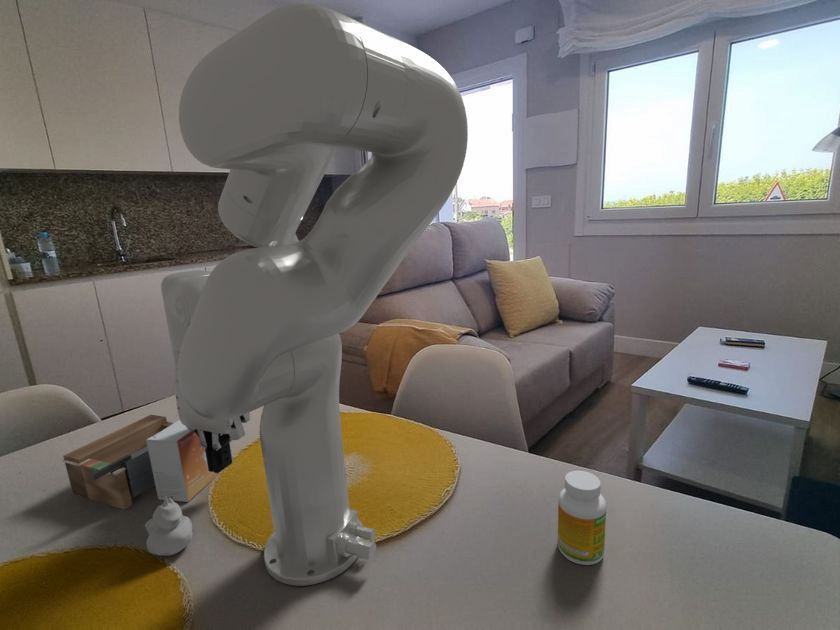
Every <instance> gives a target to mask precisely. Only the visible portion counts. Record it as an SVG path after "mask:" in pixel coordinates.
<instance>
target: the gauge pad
mask: <svg viewBox="0 0 840 630" xmlns="http://www.w3.org/2000/svg"><path fill="white" fill-rule="evenodd" d="M120 466H123V467H125V468H126V469H125V475H126V479H127V483H128V488H129V492H130V496H131V498H134V497H137V496H138V495H140V494H141V493H143V492H144V491H146V490H148V489H149V488H151V487H153V486H154V485H155V481H154V476H153V471H152V466H151V461H150V457H149V452H148V447H145V448H143V449H141V450H139V451H137V452H135V453H134V454H132V455H126V456H124V457H122V458H121V459H119V460H117V461H115V462H113V463H111V464H109V465H107V466H105V467H104V468H102V469H100V470H98V471H96V472H94V473H92V474H90V477H91V480H96V479H98V478H100V477H102V476H103V475H105V474H107V473H109V472H111V471H113V470H114V469H116V468H118V467H120Z"/></svg>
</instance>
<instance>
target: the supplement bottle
mask: <svg viewBox="0 0 840 630" xmlns="http://www.w3.org/2000/svg"><path fill="white" fill-rule="evenodd" d="M601 483H602V482H601V480H600V479H599V477H597V476H596V475H595V474H593V473H591V472H589V471H586V470H585V471H584V470H572V471H569V472H567V473H566V474H565V476H564V488H563V489H562V490H561V491H560V493H559V495H558V507H557V510H558V511H557V513H558V514H557V547H558V549H559V552H560V553H561V554H562V555H563V556H564V558H566V559H567V560H568V561H570V562H573V563H575V564H577V565H583V566H590V565H595V564H598V563H599V562H600V561H602V559H603V558H604V556H605V555H604V554H605V540H606V538H605V537H606V523H607V521H606V520H607V502H606V499H605V497H604V496H603V494H601V489H602V488H601Z"/></svg>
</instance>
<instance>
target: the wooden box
mask: <svg viewBox="0 0 840 630" xmlns="http://www.w3.org/2000/svg"><path fill="white" fill-rule="evenodd" d="M173 423H174V422H171V421H168V419H167V416H163V415H156V414H149V415H147V416H144V417H143V418H140V419H139V420H136V421H134V422H132V423H130V424H128V425H126V426H124V427H122V428H120V429H119V428H118V429H117V430H115V431H113V432H111V433H108V434H106V435H103V436H102V437H99V438H97V439H96V440H94V441H92V442H89V443H87V444H85V445H83V446H81V447H78V448H77V449H74V450H72V451H70V452H68V453H65V454H64V455H62V458H63V459H62V463H64V465H65V469H66V472H67V476H68V479H69V485H70V488H71V491H72V495H74V496H78V497H80V498H81V497H82V498H85V499H88V500H92V501H95V502H99V503H102V504H105V505H109V506H112V507H116V508H118V509H123V510H126V509H127V508H130V507H131V506H133V502H132V497H131V496H130V492H129V488H128V483H127V479H126V475H125V469H126V468H125V467H123V466H120V467H118V468H116V469H114V470H113V471H111V472H109V473H107V474H105V475H103V476H102V477H100V478H98V479H96V480H91V477H90V474H92V473H94V472H96V471H98V470H100V469H102V468H104V467H105V466H107V465H109V464H111V463H113V462H115V461H117V460H119V459H121V458H122V457H124V456H126V455H132V454H134V453H135V452H137V451H139V450H141V449H143V448H145V447H147V442H146V440H147V439H148V438H150V437H152V436H154V435H156V434H157V433H159V432H161V431H162V430H164V429H165V428H167V427H169V426H170V425H172V424H173Z"/></svg>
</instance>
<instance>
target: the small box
mask: <svg viewBox="0 0 840 630" xmlns="http://www.w3.org/2000/svg"><path fill="white" fill-rule="evenodd" d="M172 423H173V424H172V425H170V426H169V427H167V428H165V429H164V430H162V431H161V432H159V433H157V434H156V435H154V436H152V437H150V438H148V439H147V440H146V442H147V447H148V452H149V457H150V461H151V466H152V471H153V476H154V481H155V484H154V485H155V490H156V494H157V499H158V500H160V501H164V499H165V497H167V500H168V499H169V498H171V499H172V500H173V501H174V502H184V503H185V502H186V503H188V502H191V500H192V499H193V498H194V497H195V496H197V495H198V493H200V492H201V491H202V490H203V489H204V488H205V487H207V486H208V484H210V483H211V482H213V480H215V479H216V478H218V476H220V473H221V472H219V473H214V472H210V471H209V470H208V464H207V458H206V452H205V449H206V448H204V447H202V445H201V443H200V439H199V437H198V436H197V434H196V433H195V432H193V431H190V430H188V429H187V428H186V426H185V425H183V424H182V423H181V421H180V418H179V419H178V420H177V421H175V422H172Z"/></svg>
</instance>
